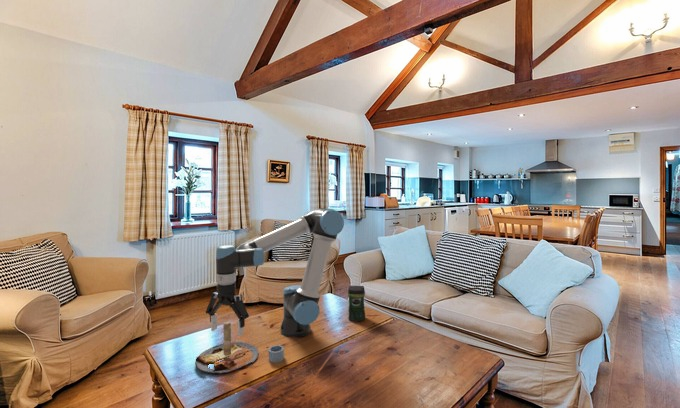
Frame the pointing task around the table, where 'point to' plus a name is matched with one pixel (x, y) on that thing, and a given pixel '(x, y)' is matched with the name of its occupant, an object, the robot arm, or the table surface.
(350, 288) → the coffee jar
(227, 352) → the pestle
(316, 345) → the table surface
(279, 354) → the cup
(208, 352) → the food plate
